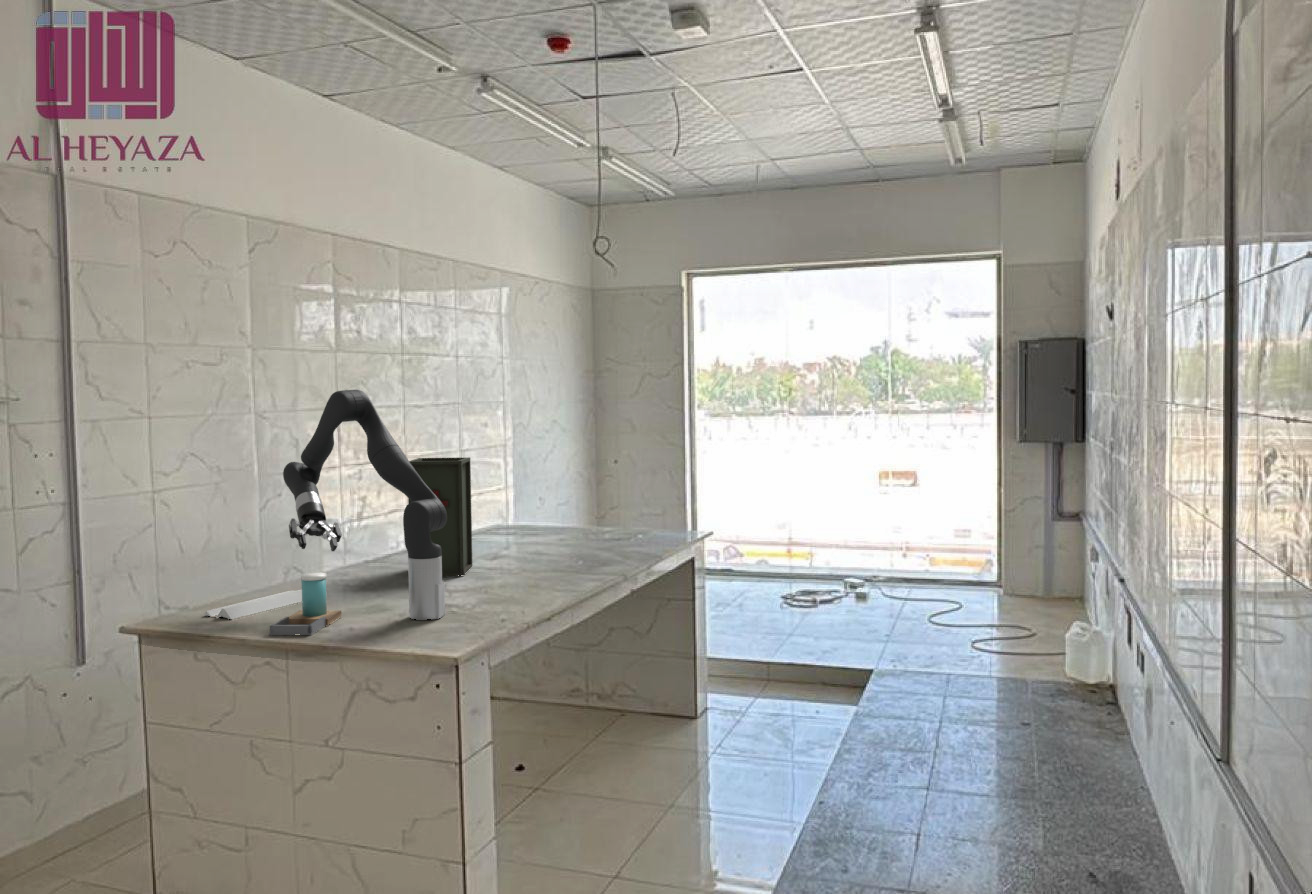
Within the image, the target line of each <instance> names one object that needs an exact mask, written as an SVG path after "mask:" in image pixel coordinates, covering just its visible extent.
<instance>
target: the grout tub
mask: <svg viewBox="0 0 1312 894" xmlns="http://www.w3.org/2000/svg"><path fill="white" fill-rule="evenodd" d="M327 576H328V575H327V573H326V572H308V573H303V574H301V575H300V583H301V589H302V603H301V609H302V610H301V611H302V615H303V616H308V617H312V616H321V615H325V614H326V613H327V611H328V609H327V608H328V607H327Z"/></svg>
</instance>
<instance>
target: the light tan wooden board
mask: <svg viewBox="0 0 1312 894" xmlns="http://www.w3.org/2000/svg"><path fill="white" fill-rule="evenodd" d="M341 616H342V610H327V613H326V614H325V615H321V616H312V617H308V616H303V615H302V610H298V611H295V612H294V613H293V614H291V615H288V617H289V624H312V623H313V622H315V621H317V620H318V619H320V618H322V617H326V625H329V624H330V623H332V622H333V621H335V620H336V619H338V618H339V617H341ZM338 620H339V619H338ZM335 622H336V621H335ZM332 624H333V623H332ZM329 626H330V625H329Z"/></svg>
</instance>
